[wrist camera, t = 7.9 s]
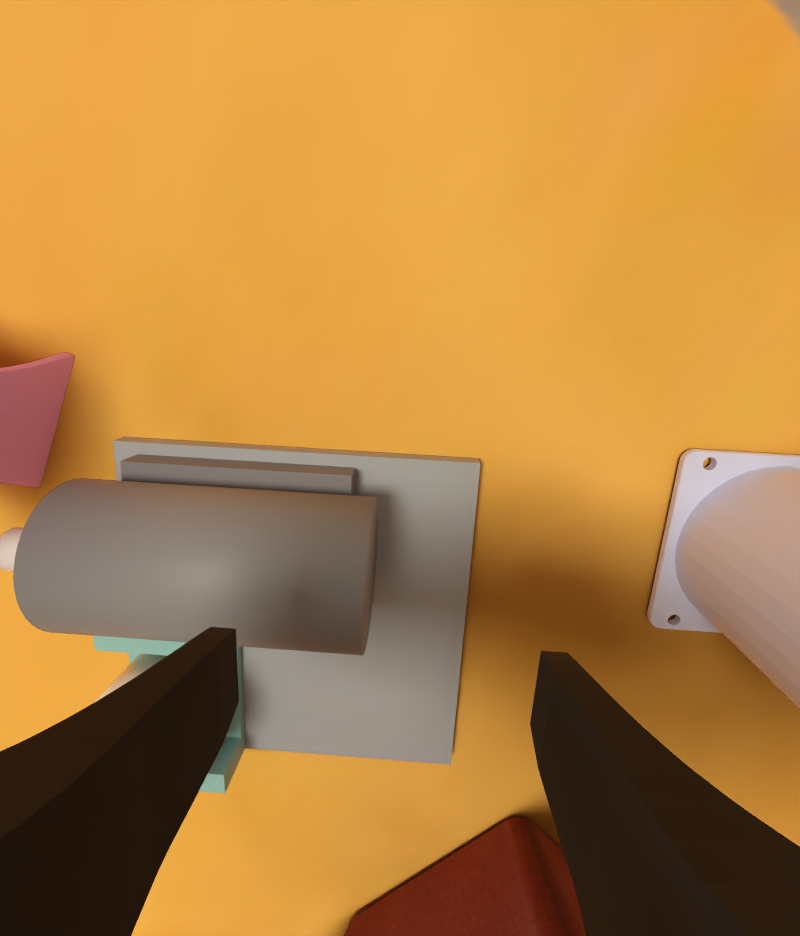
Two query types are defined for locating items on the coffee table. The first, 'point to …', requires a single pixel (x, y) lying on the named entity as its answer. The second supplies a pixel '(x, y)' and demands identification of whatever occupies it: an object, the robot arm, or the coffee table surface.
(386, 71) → the coffee table surface
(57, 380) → the toy chair
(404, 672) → the motor assembly
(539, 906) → the plant pot
